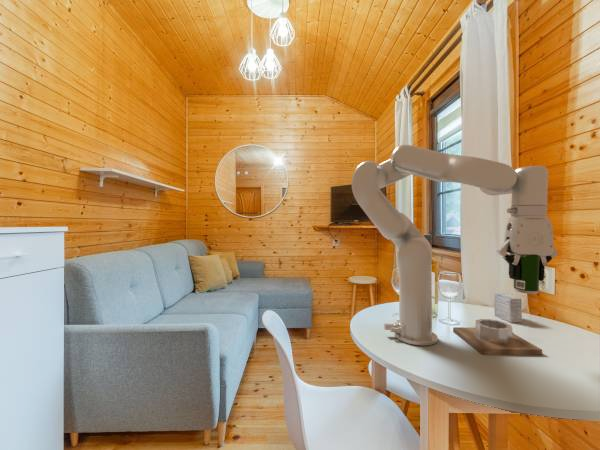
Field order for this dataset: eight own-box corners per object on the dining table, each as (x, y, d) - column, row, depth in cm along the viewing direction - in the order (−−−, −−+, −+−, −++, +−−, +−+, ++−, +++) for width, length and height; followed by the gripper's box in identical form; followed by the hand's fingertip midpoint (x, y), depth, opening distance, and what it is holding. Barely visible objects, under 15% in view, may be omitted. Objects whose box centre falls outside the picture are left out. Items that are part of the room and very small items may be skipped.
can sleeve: (486, 343, 82) (486, 329, 82) (469, 331, 91) (469, 319, 91) (519, 343, 81) (519, 330, 81) (499, 331, 90) (499, 319, 90)
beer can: (533, 295, 74) (535, 249, 74) (509, 290, 78) (511, 247, 78) (542, 292, 77) (543, 248, 76) (518, 288, 81) (519, 246, 81)
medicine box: (522, 322, 102) (522, 298, 102) (510, 323, 102) (510, 299, 102) (505, 315, 110) (505, 293, 110) (494, 315, 110) (494, 293, 110)
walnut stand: (481, 354, 78) (481, 348, 78) (453, 331, 94) (453, 327, 94) (542, 355, 78) (542, 349, 77) (503, 332, 93) (503, 327, 93)
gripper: (504, 212, 74) (501, 281, 74) (574, 213, 73) (571, 283, 73) (487, 212, 81) (485, 275, 82) (550, 213, 80) (548, 277, 81)
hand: (526, 278), depth 78 cm, fingers closed on beer can, 5 cm apart
